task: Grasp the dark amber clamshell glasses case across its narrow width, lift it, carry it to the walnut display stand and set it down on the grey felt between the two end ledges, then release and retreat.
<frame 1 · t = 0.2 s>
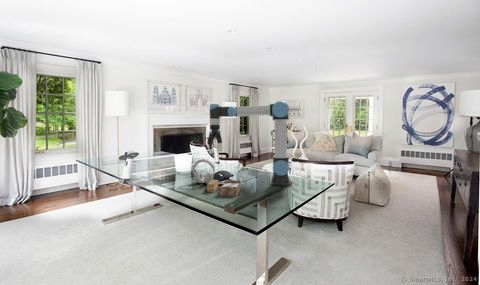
hand: (215, 152, 202), 27 cm above the table, fingers open, 13 cm apart
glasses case: (212, 189, 197), on the table
stand: (230, 191, 191), on the table
headphones: (204, 183, 217), on the table
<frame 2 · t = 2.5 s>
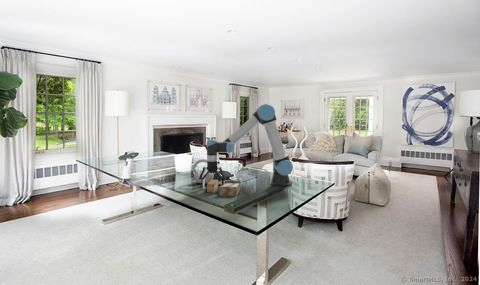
hand: (212, 188, 197), 1 cm above the table, fingers open, 13 cm apart
nothing on the table moved.
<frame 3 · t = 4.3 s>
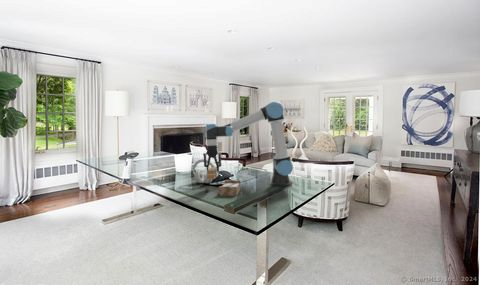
hand: (213, 176, 196), 10 cm above the table, fingers closed on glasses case, 5 cm apart
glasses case: (213, 176, 196), point 10 cm above the table, touching gripper
everything else where it was.
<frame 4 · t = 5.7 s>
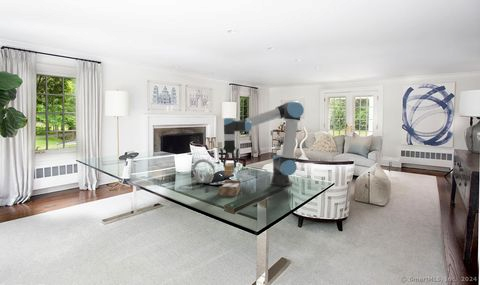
hand: (229, 172, 190), 14 cm above the table, fingers closed on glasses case, 5 cm apart
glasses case: (229, 172, 190), point 14 cm above the table, touching gripper
everything else where it was.
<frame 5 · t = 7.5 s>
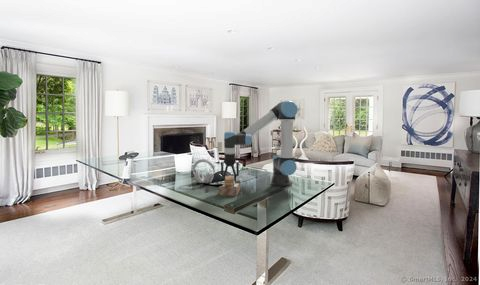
hand: (230, 185, 191), 5 cm above the table, fingers closed on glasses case, 5 cm apart
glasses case: (230, 185, 190), point 4 cm above the table, touching gripper, stand
everything else where it was.
when the fingers open (5 cm above the table, at t = 7.7 s): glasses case stays where it is, resting on stand.
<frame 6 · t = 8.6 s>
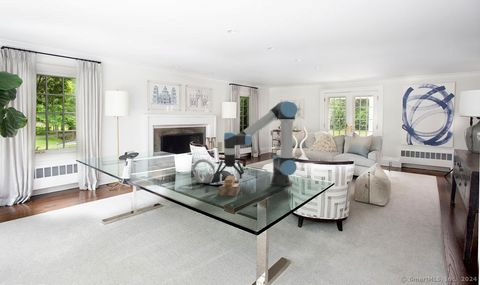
hand: (230, 183, 190), 6 cm above the table, fingers open, 13 cm apart
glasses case: (230, 185, 190), point 4 cm above the table, touching stand
everything else where it was.
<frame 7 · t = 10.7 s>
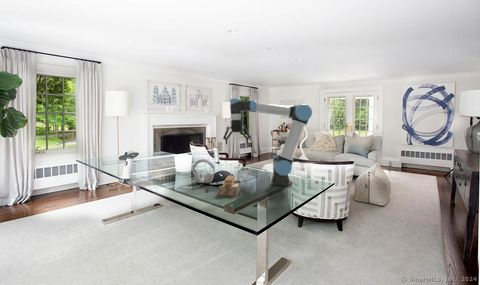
hand: (237, 148, 197), 31 cm above the table, fingers open, 13 cm apart
nothing on the table moved.
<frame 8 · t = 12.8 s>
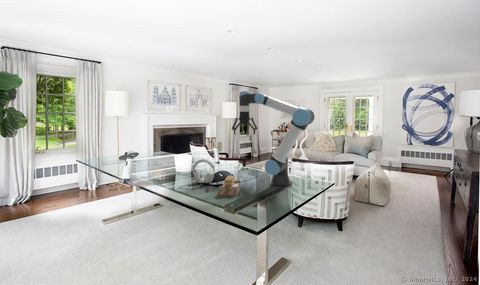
hand: (244, 138, 208), 37 cm above the table, fingers open, 13 cm apart
nothing on the table moved.
at the end: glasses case inside the target area on the stand (0.1 cm from its centre), point 4.3 cm above the stand's base; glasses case tilted 0°; the gripper is holding nothing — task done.
